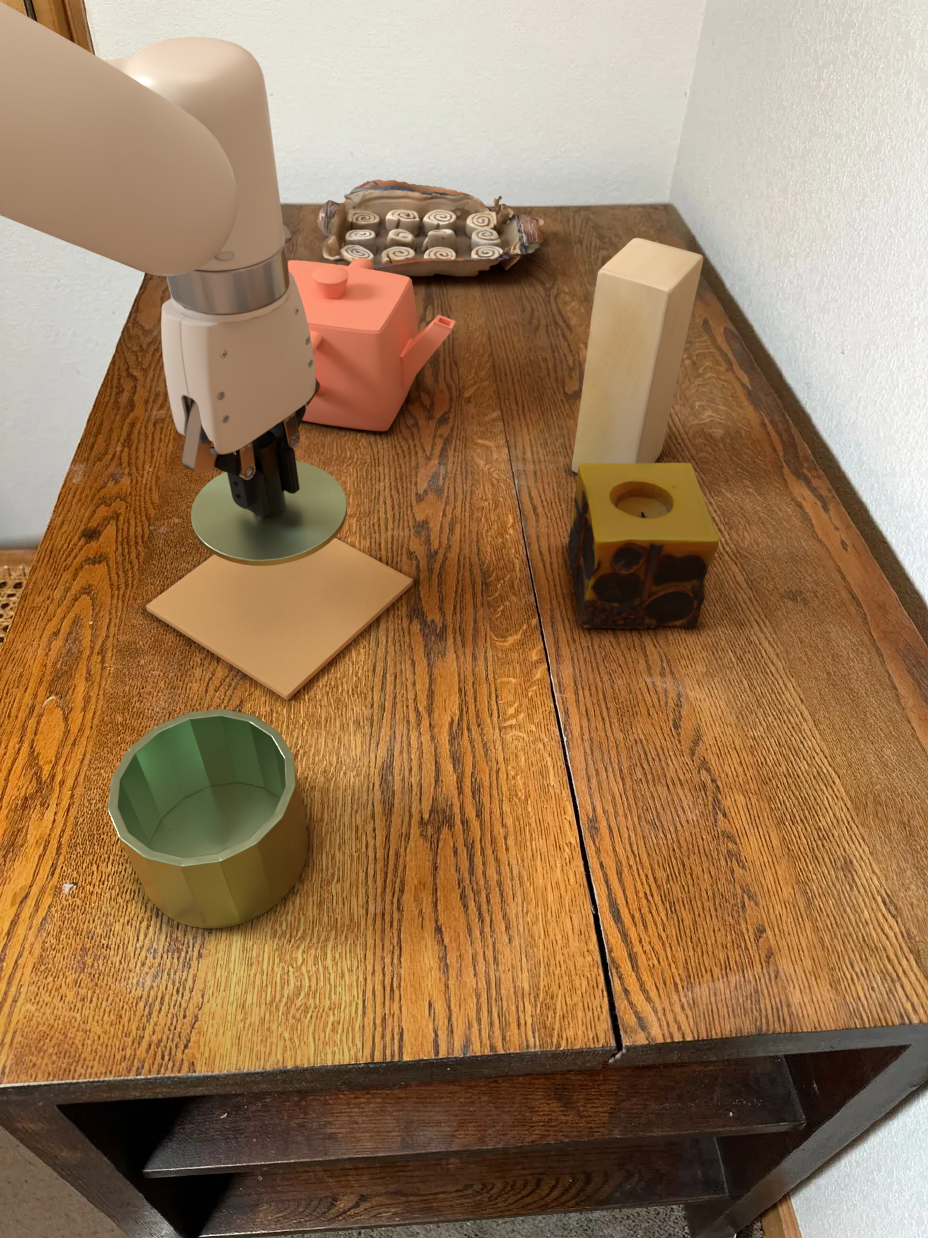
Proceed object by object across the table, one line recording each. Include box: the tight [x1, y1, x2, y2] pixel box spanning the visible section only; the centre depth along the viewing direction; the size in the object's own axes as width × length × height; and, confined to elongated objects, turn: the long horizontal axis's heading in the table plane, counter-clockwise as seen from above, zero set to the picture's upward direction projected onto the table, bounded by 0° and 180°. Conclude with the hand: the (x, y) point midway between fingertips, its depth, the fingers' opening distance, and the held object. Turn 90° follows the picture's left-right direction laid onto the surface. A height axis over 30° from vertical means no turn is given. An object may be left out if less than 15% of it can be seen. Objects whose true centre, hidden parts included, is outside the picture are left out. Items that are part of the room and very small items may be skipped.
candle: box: [567, 462, 721, 630], centre depth 78 cm, size 10×10×10 cm
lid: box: [190, 430, 348, 566], centre depth 71 cm, size 12×12×8 cm
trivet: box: [145, 537, 414, 701], centre depth 80 cm, size 16×16×1 cm
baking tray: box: [315, 179, 545, 277], centre depth 122 cm, size 30×22×5 cm
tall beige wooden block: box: [571, 237, 704, 474], centre depth 86 cm, size 8×7×21 cm
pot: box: [107, 708, 309, 930], centre depth 61 cm, size 11×11×8 cm
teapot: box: [288, 258, 456, 432], centre depth 95 cm, size 20×22×14 cm
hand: (267, 495), depth 72 cm, fingers closed on lid, 2 cm apart
